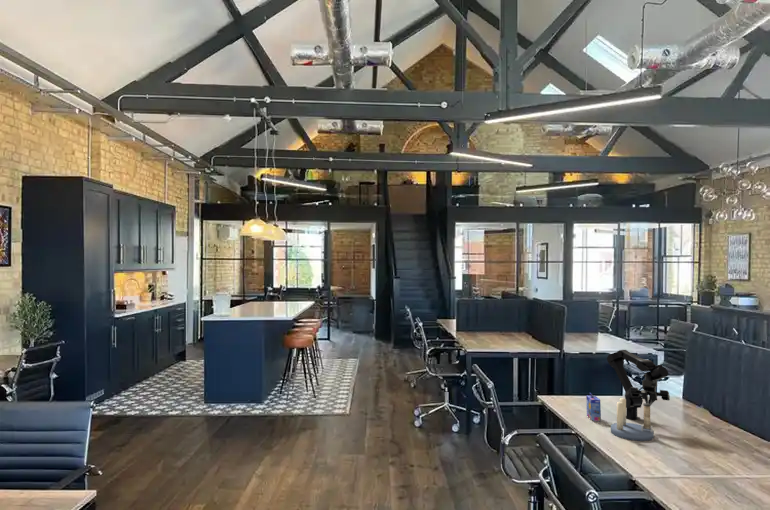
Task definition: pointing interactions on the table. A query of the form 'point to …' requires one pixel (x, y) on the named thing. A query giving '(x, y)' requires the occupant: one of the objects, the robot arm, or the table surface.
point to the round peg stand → (629, 426)
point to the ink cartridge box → (593, 408)
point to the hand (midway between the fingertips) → (647, 407)
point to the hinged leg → (646, 416)
